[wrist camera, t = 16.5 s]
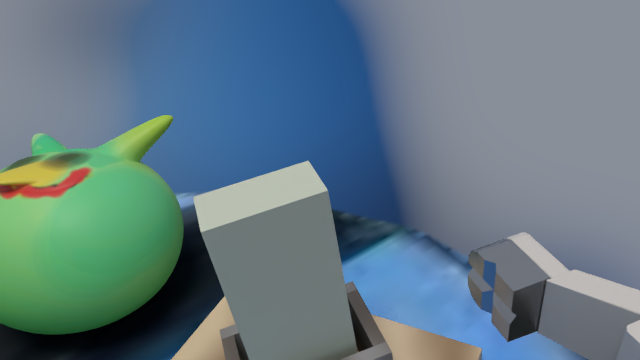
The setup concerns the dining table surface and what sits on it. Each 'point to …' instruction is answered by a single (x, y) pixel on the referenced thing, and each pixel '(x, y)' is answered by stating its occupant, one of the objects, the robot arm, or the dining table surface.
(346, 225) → the dining table surface
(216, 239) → the tall grey rectangular block
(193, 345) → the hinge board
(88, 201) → the toy bird
